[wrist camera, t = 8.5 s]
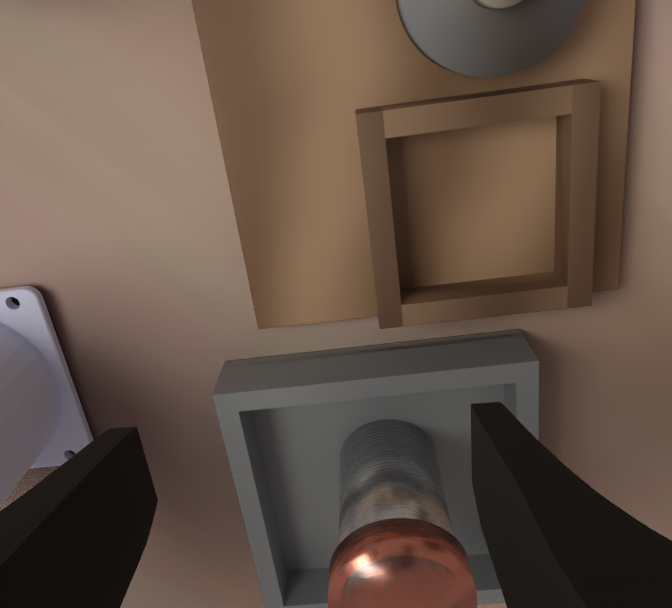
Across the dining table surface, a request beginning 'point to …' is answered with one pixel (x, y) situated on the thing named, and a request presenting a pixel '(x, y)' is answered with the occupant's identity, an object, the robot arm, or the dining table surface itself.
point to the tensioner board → (422, 153)
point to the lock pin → (395, 525)
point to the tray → (339, 422)
